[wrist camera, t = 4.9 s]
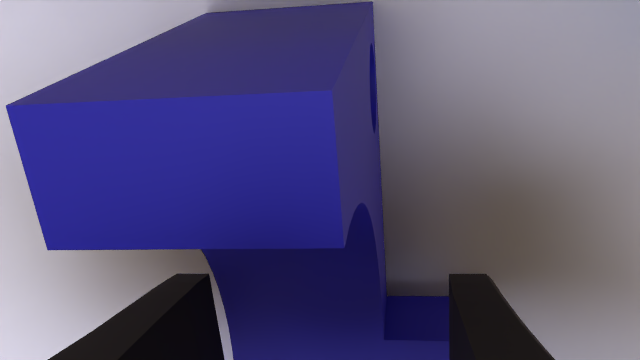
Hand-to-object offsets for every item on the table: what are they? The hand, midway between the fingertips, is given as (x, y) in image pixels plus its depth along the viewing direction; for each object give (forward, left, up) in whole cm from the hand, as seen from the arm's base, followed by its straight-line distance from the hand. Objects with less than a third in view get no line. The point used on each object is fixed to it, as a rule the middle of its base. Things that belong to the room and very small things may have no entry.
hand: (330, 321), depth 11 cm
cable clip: (0, +1, -2) cm, 2 cm away
